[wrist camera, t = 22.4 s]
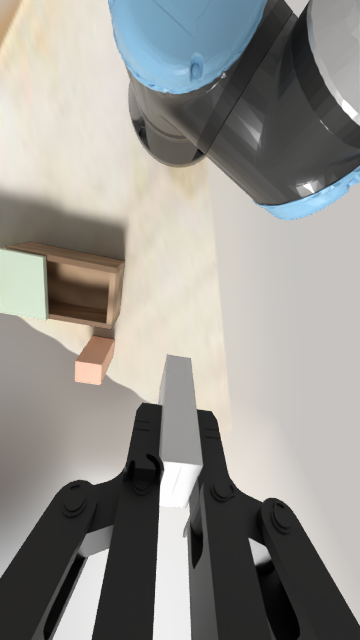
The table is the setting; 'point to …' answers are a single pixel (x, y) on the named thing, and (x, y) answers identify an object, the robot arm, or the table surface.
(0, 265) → the lid
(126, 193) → the table surface
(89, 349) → the key block
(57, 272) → the wooden box
